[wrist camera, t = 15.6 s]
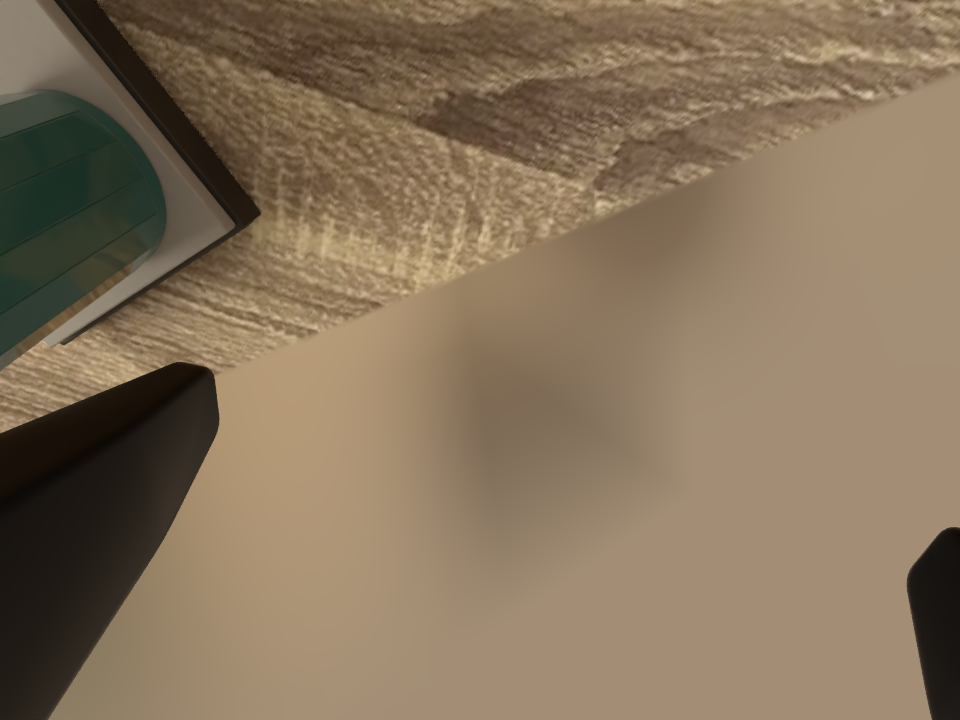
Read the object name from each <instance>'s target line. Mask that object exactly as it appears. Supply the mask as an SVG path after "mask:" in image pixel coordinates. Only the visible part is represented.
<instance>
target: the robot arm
mask: <svg viewBox="0 0 960 720" xmlns="http://www.w3.org/2000/svg"><path fill="white" fill-rule="evenodd" d="M218 426H219V410H218V402H217V394H216V386H215V378H214V374H213V373H212V371H211V370H210V369H209V368H207V367H204V366H199V365H194V364H190V363H185V362H176V363H173V364H170V365H168V366H165V367H163V368H160V369H158V370H155V371H153V372H150V373H148V374H145V375H143V376H140V377H138V378H136V379H133V380H131V381H128V382H126V383H123V384H121V385H118V386H116V387H113V388H111V389H109V390H106V391H104V392H101V393H99V394H96V395H94V396H91V397H89V398H86V399H84V400H81V401H79V402H77V403H74V404H72V405H69V406H67V407H64V408H62V409H59V410H57V411H54V412H52V413H50V414H47V415H45V416H42V417H40V418H37V419H35V420H32V421H30V422H27V423H25V424H23V425H20V426H18V427H15V428H13V429H10V430H8V431H5V432H3V433H0V720H48V719H49V717H50V716H51V714H52V712H53V711H54V709H55V708H56V706H57V705H58V703H59V702H60V700H61V698H62V697H63V695H64V694H65V692H66V691H67V689H68V688H69V686H70V685H71V683H72V681H73V680H74V678H75V677H76V675H77V674H78V672H79V671H80V669H81V667H82V666H83V664H84V663H85V661H86V660H87V658H88V657H89V655H90V654H91V652H92V650H93V649H94V647H95V646H96V644H97V643H98V641H99V640H100V638H101V637H102V635H103V633H104V632H105V630H106V629H107V627H108V626H109V624H110V622H111V621H112V619H113V618H114V616H115V615H116V613H117V611H118V610H119V609H120V607H121V605H122V604H123V602H124V600H125V599H126V598H127V596H128V595H129V593H130V592H131V590H132V589H133V587H134V585H135V584H136V582H137V581H138V579H139V578H140V576H141V575H142V573H143V571H144V570H145V568H146V567H147V565H148V564H149V562H150V561H151V559H152V558H153V556H154V554H155V553H156V551H157V549H158V548H159V546H160V544H161V543H162V541H163V540H164V538H165V536H166V534H167V532H168V530H169V528H170V527H171V525H172V523H173V521H174V519H175V517H176V515H177V513H178V511H179V509H180V507H181V505H182V503H183V501H184V499H185V497H186V495H187V493H188V491H189V489H190V486H191V485H192V482H193V481H194V479H195V477H196V475H197V473H198V471H199V468H200V467H201V465H202V463H203V461H204V458H205V456H206V455H207V453H208V451H209V448H210V447H211V444H212V443H213V441H214V438H215V436H216V434H217V431H218ZM907 593H908V598H909V603H910V609H911V614H912V620H913V625H914V631H915V636H916V641H917V647H918V652H919V658H920V663H921V669H922V674H923V680H924V685H925V690H926V695H927V700H928V704H929V709H930V713H931V718H932V720H960V528H958V527H950V528H947V529H945V530H943V531H942V532H941V533H939V535H938V536H937V537H936V538H935V539H934V541H933V542H932V543H931V544H930V545H929V547H928V548H927V549H926V550H925V551H924V553H923V554H922V555H921V556H920V558H919V559H918V560H917V561H916V562H915V563H914V565H913V566H912V567H911V569H910V571H909V573H908V578H907Z"/></svg>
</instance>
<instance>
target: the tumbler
mask: <svg viewBox="0 0 960 720" xmlns="http://www.w3.org/2000/svg"><path fill="white" fill-rule="evenodd" d="M165 226H166V205H165V199H164V195H163V191H162V187H161V185H160V182H159V179H158V177H157V174H156V172H155V170H154V168H153V166H152V164H151V163H150V161H149V160H148V158H147V156H146V155H145V153H144V152H143V150H142V149H141V148H140V146H139V145H138V144H137V142H136V141H135V140H134V139H133V138H132V137H131V135H130V134H129V133H128V132H127V131H126V130H125V129H124V128H123V127H122V126H121V125H120V124H118V123H117V122H116V121H115V120H114V119H113V118H111V117H110V116H109V115H107V114H106V113H105V112H103V111H102V110H100V109H99V108H97V107H96V106H94V105H92V104H91V103H89V102H87V101H85V100H82V99H80V98H78V97H76V96H73V95H70V94H67V93H64V92H60V91H55V90H49V89H32V90H26V91H22V92H18V93H10V94H4V95H0V371H1V370H2V369H3V368H5V367H6V366H8V365H9V364H10V363H12V362H13V361H14V360H16V359H17V358H18V357H20V356H21V355H22V354H24V353H25V352H26V351H28V350H29V349H30V348H32V347H33V346H35V345H36V344H37V343H39V342H40V341H41V340H43V339H44V338H45V337H47V336H48V335H49V334H51V333H52V332H53V331H55V330H56V329H57V328H59V327H60V326H62V325H63V324H64V323H66V322H67V321H68V320H70V319H71V318H72V317H74V316H75V315H76V314H78V313H79V312H80V311H82V310H83V309H84V308H86V307H87V306H89V305H90V304H91V303H93V302H94V301H95V300H97V299H98V298H99V297H101V296H102V295H103V294H105V293H106V292H107V291H109V290H110V289H111V288H113V287H114V286H116V285H117V284H118V283H120V282H121V281H122V280H124V279H125V278H126V277H128V276H129V275H130V274H132V273H133V272H134V271H136V270H137V269H138V268H140V266H141V265H142V264H143V263H144V262H145V261H147V260H148V259H149V258H150V257H151V256H152V255H153V254H154V253H155V252H156V250H157V249H158V247H159V245H160V243H161V241H162V238H163V235H164V232H165Z"/></svg>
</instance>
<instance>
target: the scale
mask: <svg viewBox="0 0 960 720" xmlns="http://www.w3.org/2000/svg"><path fill="white" fill-rule="evenodd" d="M32 89H49V90H55V91H60V92H64V93H67V94H70V95H73V96H76V97H78V98H80V99H82V100H85V101H87V102H89V103H91V104H92V105H94V106H96V107H97V108H99V109H100V110H102V111H103V112H105V113H106V114H107V115H109V116H110V117H111V118H113V119H114V120H115V121H116V122H117V123H118V124H120V125H121V126H122V127H123V128H124V129H125V130H126V131H127V132H128V133H129V134H130V135H131V137H132V138H133V139H134V140H135V141H136V142H137V144H138V145H139V146H140V148H141V149H142V150H143V152H144V153H145V155H146V156H147V158H148V160H149V161H150V163H151V164H152V166H153V168H154V170H155V172H156V174H157V177H158V179H159V182H160V185H161V187H162V191H163V195H164V199H165V205H166V226H165V232H164V235H163V238H162V241H161V243H160V245H159V247H158V249H157V250H156V252H155V253H154V254H153V255H152V256H151V257H150V258H149V259H148V260H147V261H145V262H144V263H143V264H142V265H141V266H140V268H138V269H137V270H136V271H134V272H133V273H132V274H130V275H129V276H128V277H126V278H125V279H124V280H122V281H121V282H120V283H118V284H117V285H116V286H114V287H113V288H111V289H110V290H109V291H107V292H106V293H105V294H103V295H102V296H101V297H99V298H98V299H97V300H95V301H94V302H93V303H91V304H90V305H89V306H87V307H86V308H84V309H83V310H82V311H80V312H79V313H78V314H76V315H75V316H74V317H72V318H71V319H70V320H68V321H67V322H66V323H64V324H63V325H62V326H60V327H59V328H57V329H56V330H55V331H53V332H52V333H51V334H49V335H48V336H47V337H45V338H44V339H43V340H42V341H43V342H44V343H45V344H46V345H47V346H48V347H50V348H52V347H54V346H56V345H57V344H59V343H60V344H61V345H66V344H67V343H69V342H70V341H72V340H73V339H75V338H76V337H78V336H79V335H81V334H83V333H84V332H86V331H87V330H89V329H90V328H92V327H93V326H95V325H96V324H98V323H99V322H101V321H103V320H104V319H106V318H107V317H109V316H110V315H112V314H113V313H115V312H116V311H118V310H120V309H121V308H123V307H124V306H126V305H127V304H129V303H130V302H132V301H133V300H135V299H136V298H138V297H140V296H141V295H143V294H144V293H146V292H147V291H149V290H150V289H152V288H153V287H155V286H156V285H158V284H160V283H161V282H163V281H164V280H166V279H167V278H169V277H170V276H172V275H173V274H175V273H177V272H178V271H180V270H181V269H183V268H184V267H186V266H187V265H189V264H190V263H192V262H193V261H195V260H197V259H198V258H200V257H201V256H203V255H204V254H206V253H207V252H209V251H210V250H212V249H213V248H215V247H217V246H218V245H220V244H221V243H223V242H224V241H226V240H227V239H229V238H230V237H232V236H234V235H235V234H237V233H238V232H240V231H241V230H243V229H244V228H246V227H247V226H248V225H249V224H250V223H252V222H253V221H254V220H255V219H256V218H258V217H259V216H260V215H261V212H260V211H259V210H258V208H257V207H256V206H255V205H254V203H253V202H252V201H251V199H250V198H249V197H248V196H247V194H246V193H245V192H244V191H243V189H242V188H241V187H240V185H239V184H238V183H237V182H236V180H235V179H234V178H233V177H232V175H231V174H230V173H229V171H228V170H227V169H226V168H225V166H224V165H223V164H222V163H221V161H220V160H219V159H218V157H217V156H216V155H215V154H214V152H213V151H212V150H211V148H210V147H209V146H208V145H207V143H206V142H205V141H204V140H203V138H202V137H201V136H200V134H199V133H198V132H197V131H196V129H195V128H194V127H193V126H192V124H191V123H190V122H189V120H188V119H187V118H186V117H185V115H184V114H183V113H182V112H181V110H180V109H179V108H178V106H177V105H176V104H175V103H174V101H173V100H172V99H171V97H170V96H169V95H168V94H167V92H166V91H165V90H164V89H163V87H162V86H161V85H160V83H159V82H158V81H157V80H156V78H155V77H154V76H153V75H152V73H151V72H150V71H149V69H148V68H147V67H146V66H145V64H144V63H143V62H142V61H141V59H140V58H139V57H138V55H137V54H136V53H135V52H134V50H133V49H132V48H131V47H130V45H129V44H128V43H127V41H126V40H125V39H124V38H123V36H122V35H121V34H120V32H119V31H118V30H117V29H116V27H115V26H114V25H113V24H112V22H111V21H110V20H109V18H108V17H107V16H106V15H105V13H104V12H103V11H102V10H101V8H100V7H99V6H98V4H97V3H96V2H95V1H94V0H0V95H4V94H10V93H18V92H22V91H26V90H32Z"/></svg>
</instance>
